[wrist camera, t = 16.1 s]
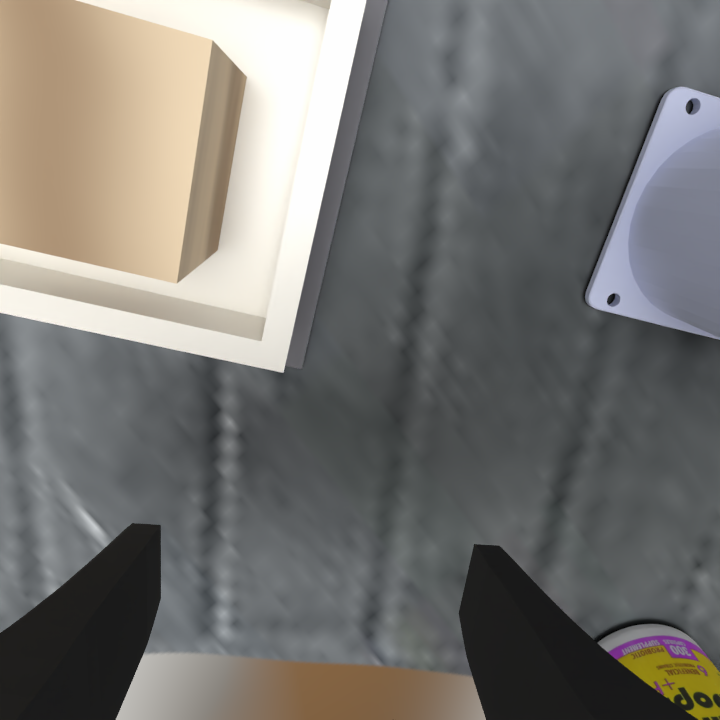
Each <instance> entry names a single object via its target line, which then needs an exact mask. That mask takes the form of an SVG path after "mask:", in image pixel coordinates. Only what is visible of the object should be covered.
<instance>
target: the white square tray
mask: <svg viewBox="0 0 720 720" xmlns="http://www.w3.org/2000/svg"><path fill="white" fill-rule="evenodd" d="M76 1H80V2H83V3H87V4H90V5H94V6H97V7H101V8H104V9H108V10H111V11H114V12H118V13H121V14H125V15H128V16H132V17H135V18H139V19H142V20H145V21H149V22H152V23H156V24H159V25H163V26H166V27H170V28H173V29H177V30H180V31H183V32H187V33H190V34H194V35H197V36H201V37H204V38H208V39H211V40H213V41H214V42H215V43H216V44H217V45H218V46H219V47H220V48H221V50H222V51H223V52H224V53H225V54H226V55H227V56H228V57H229V58H230V59H231V60H232V61H233V62H234V64H235V65H236V66H237V67H238V68H239V69H240V70H241V71H242V72H243V73H244V74H245V75H246V76H247V79H246V85H245V91H244V96H243V102H242V108H241V114H240V120H239V126H238V132H237V138H236V144H235V150H234V156H233V162H232V168H231V174H230V180H229V186H228V192H227V198H226V204H225V210H224V216H223V222H222V228H221V234H220V240H219V246H218V251H216V252H215V253H214V254H213V255H211V256H210V257H209V258H208V259H207V260H205V261H204V262H203V263H202V264H200V265H199V266H198V267H197V268H196V269H194V270H193V271H192V272H191V273H189V274H188V275H187V276H186V277H184V278H183V279H182V280H181V281H180V282H178V283H177V284H176V283H171V282H167V281H163V280H158V279H154V278H149V277H145V276H141V275H136V274H132V273H127V272H123V271H119V270H114V269H110V268H106V267H101V266H97V265H92V264H88V263H84V262H79V261H75V260H70V259H66V258H62V257H57V256H53V255H49V254H44V253H40V252H35V251H31V250H27V249H22V248H18V247H13V246H9V245H5V244H0V313H5V314H9V315H14V316H19V317H23V318H28V319H33V320H37V321H42V322H47V323H52V324H56V325H61V326H66V327H70V328H75V329H80V330H84V331H89V332H94V333H99V334H103V335H108V336H113V337H117V338H122V339H127V340H131V341H136V342H141V343H146V344H150V345H155V346H160V347H164V348H169V349H174V350H178V351H183V352H188V353H193V354H197V355H202V356H207V357H211V358H216V359H221V360H225V361H230V362H235V363H240V364H244V365H249V366H254V367H258V368H263V369H268V370H272V371H277V372H282V373H284V368H285V364H286V359H287V355H288V350H289V346H290V341H291V337H292V332H293V328H294V323H295V319H296V314H297V310H298V305H299V301H300V296H301V292H302V287H303V283H304V279H305V274H306V270H307V265H308V261H309V256H310V252H311V247H312V243H313V238H314V234H315V229H316V225H317V220H318V216H319V211H320V207H321V202H322V198H323V193H324V189H325V184H326V180H327V175H328V171H329V166H330V162H331V157H332V153H333V148H334V144H335V139H336V135H337V130H338V126H339V121H340V117H341V112H342V108H343V103H344V99H345V94H346V90H347V85H348V81H349V76H350V72H351V67H352V63H353V58H354V54H355V49H356V45H357V40H358V36H359V32H360V27H361V23H362V18H363V14H364V9H365V5H366V0H76Z"/></svg>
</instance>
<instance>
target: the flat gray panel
mask: <svg viewBox="0 0 720 720" xmlns="http://www.w3.org/2000/svg"><path fill="white" fill-rule="evenodd" d="M387 3H388V0H366V5H365V9H364V14H363V18H362V23H361V27H360V32H359V36H358V40H357V45H356V49H355V54H354V58H353V63H352V67H351V72H350V76H349V81H348V85H347V90H346V94H345V99H344V103H343V108H342V112H341V117H340V121H339V126H338V130H337V135H336V139H335V144H334V148H333V153H332V157H331V162H330V166H329V171H328V175H327V180H326V184H325V189H324V193H323V198H322V202H321V207H320V211H319V216H318V220H317V225H316V229H315V234H314V238H313V243H312V247H311V252H310V256H309V261H308V265H307V270H306V274H305V279H304V283H303V287H302V292H301V296H300V301H299V305H298V310H297V314H296V319H295V323H294V328H293V332H292V337H291V341H290V346H289V350H288V355H287V359H286V364H285V366H288V367H293V368H298V369H302V366H303V362H304V358H305V354H306V349H307V345H308V341H309V336H310V332H311V328H312V324H313V319H314V315H315V311H316V306H317V302H318V298H319V294H320V289H321V285H322V281H323V277H324V272H325V268H326V264H327V259H328V255H329V251H330V247H331V242H332V238H333V234H334V229H335V225H336V221H337V217H338V212H339V208H340V204H341V199H342V195H343V191H344V187H345V182H346V178H347V174H348V170H349V165H350V161H351V157H352V152H353V148H354V144H355V140H356V135H357V131H358V127H359V122H360V118H361V114H362V110H363V105H364V101H365V97H366V92H367V88H368V84H369V80H370V75H371V71H372V67H373V63H374V58H375V54H376V50H377V45H378V41H379V37H380V33H381V28H382V24H383V20H384V15H385V11H386V7H387Z"/></svg>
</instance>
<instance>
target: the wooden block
mask: <svg viewBox="0 0 720 720" xmlns="http://www.w3.org/2000/svg"><path fill="white" fill-rule="evenodd" d="M246 79H247V76H246V75H245V74H244V73H243V72H242V71H241V70H240V69H239V68H238V67H237V66H236V65H235V64H234V62H233V61H232V60H231V59H230V58H229V57H228V56H227V55H226V54H225V53H224V52H223V51H222V50H221V48H220V47H219V46H218V45H217V44H216V43H215V42H214V41H213V40H211V39H208V38H204V37H201V36H197V35H194V34H190V33H187V32H183V31H180V30H177V29H173V28H170V27H166V26H163V25H159V24H156V23H152V22H149V21H145V20H142V19H139V18H135V17H132V16H128V15H125V14H121V13H118V12H114V11H111V10H108V9H104V8H101V7H97V6H94V5H90V4H87V3H83V2H80V1H76V0H0V244H5V245H9V246H13V247H18V248H22V249H27V250H31V251H35V252H40V253H44V254H49V255H53V256H57V257H62V258H66V259H70V260H75V261H79V262H84V263H88V264H92V265H97V266H101V267H106V268H110V269H114V270H119V271H123V272H127V273H132V274H136V275H141V276H145V277H149V278H154V279H158V280H163V281H167V282H171V283H176V284H177V283H178V282H180V281H181V280H182V279H183V278H184V277H186V276H187V275H188V274H189V273H191V272H192V271H193V270H194V269H196V268H197V267H198V266H199V265H200V264H202V263H203V262H204V261H205V260H207V259H208V258H209V257H210V256H211V255H213V254H214V253H215V252H216V251H218V246H219V240H220V234H221V228H222V222H223V216H224V210H225V204H226V198H227V192H228V186H229V180H230V174H231V168H232V162H233V156H234V150H235V144H236V138H237V132H238V126H239V120H240V114H241V108H242V102H243V96H244V91H245V85H246Z"/></svg>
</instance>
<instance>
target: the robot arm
mask: <svg viewBox="0 0 720 720" xmlns="http://www.w3.org/2000/svg"><path fill="white" fill-rule="evenodd" d="M689 100H691V101H692V102H693V105H694V106H693V110H692V112H691V113H690V114H688V113H687V112H686V109H685V108H686V104H687V102H688V101H689ZM613 293H614V294H615V300H614V301H613V302H612V303H611V304H607V298H608V297H609V295H611V294H613ZM585 300H586V302H587V304H588V305H589V306H591V307H593V308H595V309H598V310H602V311H606V312H610V313H614V314H618V315H622V316H626V317H630V318H634V319H638V320H642V321H646V322H650V323H654V324H658V325H662V326H666V327H670V328H674V329H678V330H682V331H686V332H690V333H694V334H698V335H703V336H707V337H711V338H715V339H719V340H720V98H719V97H716V96H712V95H709V94H706V93H703V92H700V91H697V90H693V89H690V88H687V87H676V88H673V89H670V90H669V91H667V92H666V93H665V94H664V96H663V98H662V99H661V102H660V104H659V107H658V109H657V112H656V114H655V117H654V119H653V122H652V125H651V127H650V130H649V132H648V135H647V137H646V140H645V142H644V145H643V148H642V150H641V153H640V155H639V158H638V160H637V163H636V165H635V168H634V170H633V173H632V176H631V178H630V181H629V183H628V186H627V188H626V191H625V193H624V196H623V199H622V201H621V204H620V206H619V209H618V211H617V214H616V216H615V219H614V222H613V224H612V227H611V229H610V232H609V234H608V237H607V239H606V242H605V244H604V247H603V250H602V252H601V255H600V257H599V260H598V262H597V265H596V267H595V270H594V273H593V275H592V278H591V280H590V283H589V285H588V288H587V290H586V294H585ZM160 599H161V525H151V524H134V523H132V524H131V525H130V526H129V527H127V528H126V529H125V530H124V531H123V532H122V533H121V534H120V535H119V536H117V537H116V538H115V539H114V540H113V541H112V542H111V543H110V544H109V545H108V546H107V547H105V548H104V549H103V550H102V551H101V552H100V553H99V554H98V555H97V556H96V557H94V558H93V559H92V560H91V561H90V562H89V563H88V564H87V565H85V566H84V567H83V568H82V569H81V570H80V571H79V572H77V573H76V574H75V575H74V576H73V577H72V578H70V579H69V580H68V581H67V582H66V583H65V584H63V585H62V586H61V587H60V588H59V589H57V590H56V591H55V592H54V593H52V594H51V595H50V596H49V597H47V598H46V599H45V600H44V601H42V602H41V603H40V604H38V605H37V606H36V607H35V608H33V609H32V610H31V611H30V612H28V613H27V614H26V615H24V616H23V617H22V618H20V619H19V620H18V621H16V622H15V623H14V624H12V625H11V626H10V627H8V628H7V629H5V630H4V631H3V632H1V633H0V720H116V717H117V715H118V712H119V710H120V708H121V705H122V703H123V701H124V698H125V696H126V694H127V691H128V689H129V687H130V684H131V682H132V679H133V677H134V675H135V672H136V670H137V667H138V665H139V663H140V660H141V658H142V656H143V653H144V651H145V648H146V646H147V643H148V640H149V637H150V634H151V630H152V627H153V624H154V620H155V617H156V613H157V610H158V606H159V603H160ZM459 617H460V623H461V628H462V634H463V640H464V645H465V650H466V655H467V659H468V662H469V666H470V669H471V672H472V676H473V679H474V682H475V685H476V689H477V692H478V695H479V698H480V701H481V704H482V708H483V711H484V714H485V717H486V720H698V719H697V718H695V717H694V716H692V715H691V714H689V713H688V712H686V711H685V710H683V709H682V708H681V707H679V706H678V705H676V704H675V703H673V702H672V701H671V700H669V699H668V698H666V697H665V696H663V695H662V694H661V693H659V692H658V691H656V690H655V689H654V688H652V687H651V686H650V685H648V684H647V683H646V682H644V681H643V680H642V679H640V678H639V677H638V676H637V675H635V674H634V673H633V672H632V671H630V670H629V669H628V668H627V667H625V666H624V665H623V664H621V663H620V662H619V661H618V660H616V659H615V658H614V657H613V656H612V655H610V654H609V653H608V652H607V651H606V650H605V649H603V648H602V647H601V646H600V645H599V644H598V643H597V642H595V641H594V640H593V639H592V638H591V637H590V636H589V635H588V634H587V633H586V632H584V631H583V630H582V629H581V628H580V627H579V626H578V625H577V624H576V623H575V622H574V621H573V620H572V619H570V618H569V617H568V616H567V615H566V614H565V613H564V612H563V611H562V610H561V609H560V608H559V607H558V606H557V605H556V604H555V603H554V602H553V601H552V600H551V599H550V598H549V597H548V596H547V595H546V594H545V593H544V592H543V591H542V590H541V589H540V588H539V587H538V585H537V584H536V583H535V582H534V581H533V580H532V579H531V578H530V577H529V576H528V575H527V574H526V573H525V572H524V571H523V570H522V569H521V568H520V567H519V565H518V564H517V563H516V562H515V561H514V560H513V559H512V558H511V557H510V556H509V555H508V554H507V553H506V552H505V551H504V550H503V549H502V548H501V547H500V546H494V545H477V544H474V548H473V552H472V557H471V561H470V566H469V570H468V574H467V579H466V583H465V588H464V592H463V597H462V601H461V606H460V610H459Z"/></svg>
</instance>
